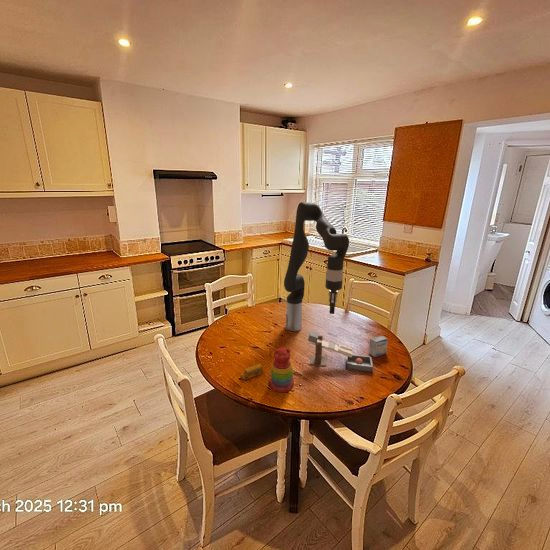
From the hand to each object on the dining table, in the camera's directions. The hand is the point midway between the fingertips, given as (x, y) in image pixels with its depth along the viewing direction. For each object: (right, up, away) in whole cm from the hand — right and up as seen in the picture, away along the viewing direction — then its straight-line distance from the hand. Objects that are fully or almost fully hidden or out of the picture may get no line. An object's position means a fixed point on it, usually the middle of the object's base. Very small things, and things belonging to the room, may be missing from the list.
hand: (331, 313), depth 140 cm
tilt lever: (-1, -17, +3) cm, 17 cm away
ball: (+13, -23, +2) cm, 27 cm away
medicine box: (+26, -23, +13) cm, 36 cm away
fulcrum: (-5, -24, +6) cm, 26 cm away
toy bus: (-37, -28, -4) cm, 47 cm away
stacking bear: (-24, -30, -12) cm, 40 cm away
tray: (+13, -25, +2) cm, 29 cm away
